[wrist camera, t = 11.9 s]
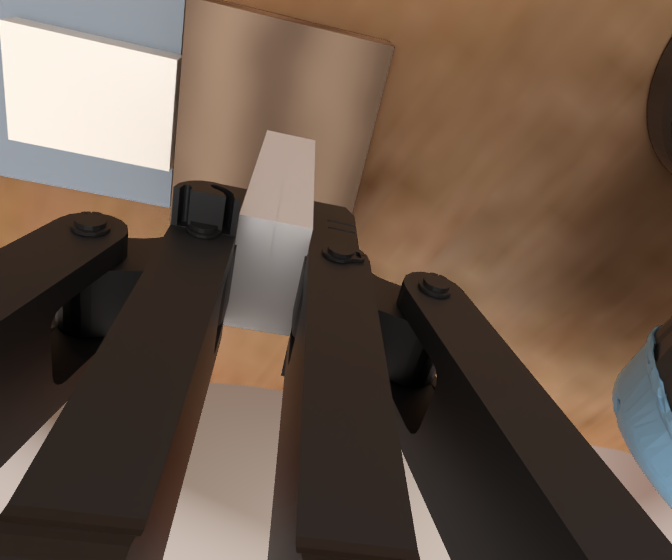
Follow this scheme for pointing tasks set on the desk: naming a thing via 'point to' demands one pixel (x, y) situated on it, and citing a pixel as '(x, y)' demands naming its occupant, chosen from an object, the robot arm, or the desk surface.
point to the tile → (90, 93)
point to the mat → (77, 169)
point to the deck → (275, 95)
